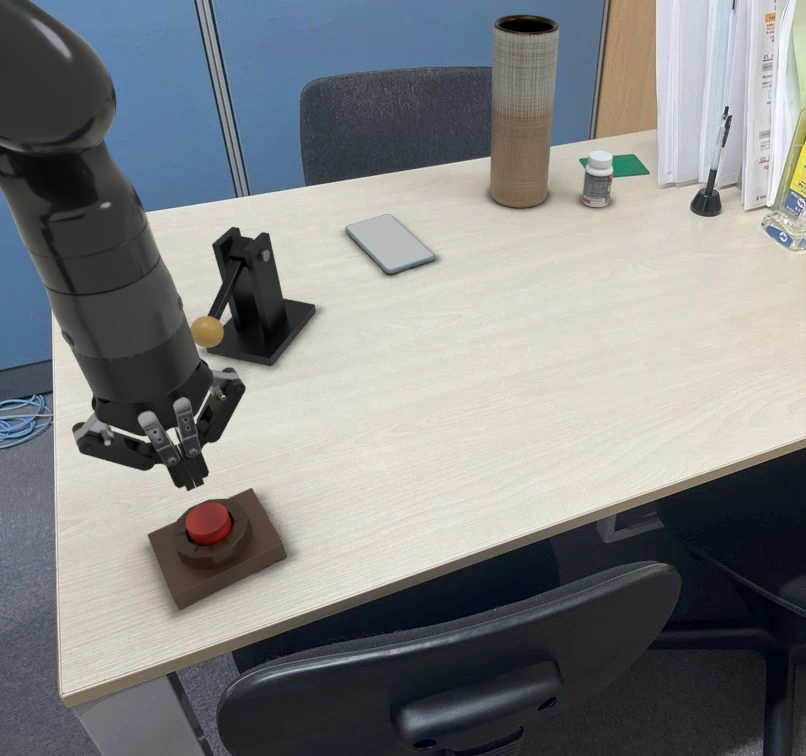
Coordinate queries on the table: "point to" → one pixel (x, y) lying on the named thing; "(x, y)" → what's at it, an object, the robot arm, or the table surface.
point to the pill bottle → (598, 179)
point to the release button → (208, 523)
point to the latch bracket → (257, 304)
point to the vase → (522, 108)
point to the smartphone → (389, 243)
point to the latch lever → (221, 298)
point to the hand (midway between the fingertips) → (192, 481)
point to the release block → (217, 551)
